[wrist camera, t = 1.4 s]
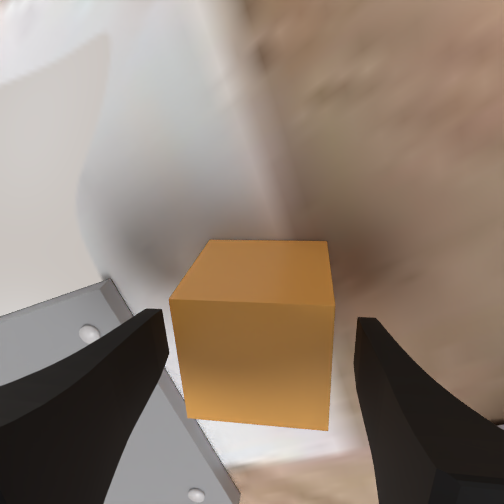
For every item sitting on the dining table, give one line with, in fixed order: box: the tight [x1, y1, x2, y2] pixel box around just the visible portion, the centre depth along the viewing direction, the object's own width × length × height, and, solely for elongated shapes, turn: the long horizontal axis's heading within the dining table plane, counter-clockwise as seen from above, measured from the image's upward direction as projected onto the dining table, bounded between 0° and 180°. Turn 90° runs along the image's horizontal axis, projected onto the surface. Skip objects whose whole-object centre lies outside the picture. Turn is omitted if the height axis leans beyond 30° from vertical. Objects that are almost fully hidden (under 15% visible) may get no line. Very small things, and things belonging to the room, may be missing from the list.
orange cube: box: [169, 240, 335, 431], centre depth 14 cm, size 5×5×5 cm
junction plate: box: [0, 279, 240, 504], centre depth 19 cm, size 16×12×4 cm
